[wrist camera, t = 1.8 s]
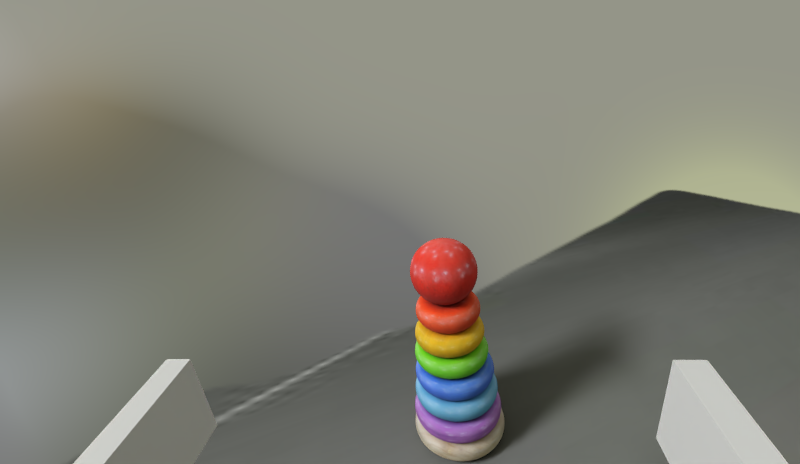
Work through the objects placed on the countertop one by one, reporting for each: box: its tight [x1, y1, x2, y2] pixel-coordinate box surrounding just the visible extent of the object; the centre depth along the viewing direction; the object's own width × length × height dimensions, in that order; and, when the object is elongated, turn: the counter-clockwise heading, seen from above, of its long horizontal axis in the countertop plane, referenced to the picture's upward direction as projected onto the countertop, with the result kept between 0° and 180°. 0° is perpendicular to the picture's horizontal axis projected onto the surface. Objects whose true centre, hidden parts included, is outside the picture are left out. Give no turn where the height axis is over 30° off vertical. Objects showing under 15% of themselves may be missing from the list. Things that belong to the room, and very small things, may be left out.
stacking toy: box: [410, 238, 505, 461], centre depth 34 cm, size 8×8×19 cm
